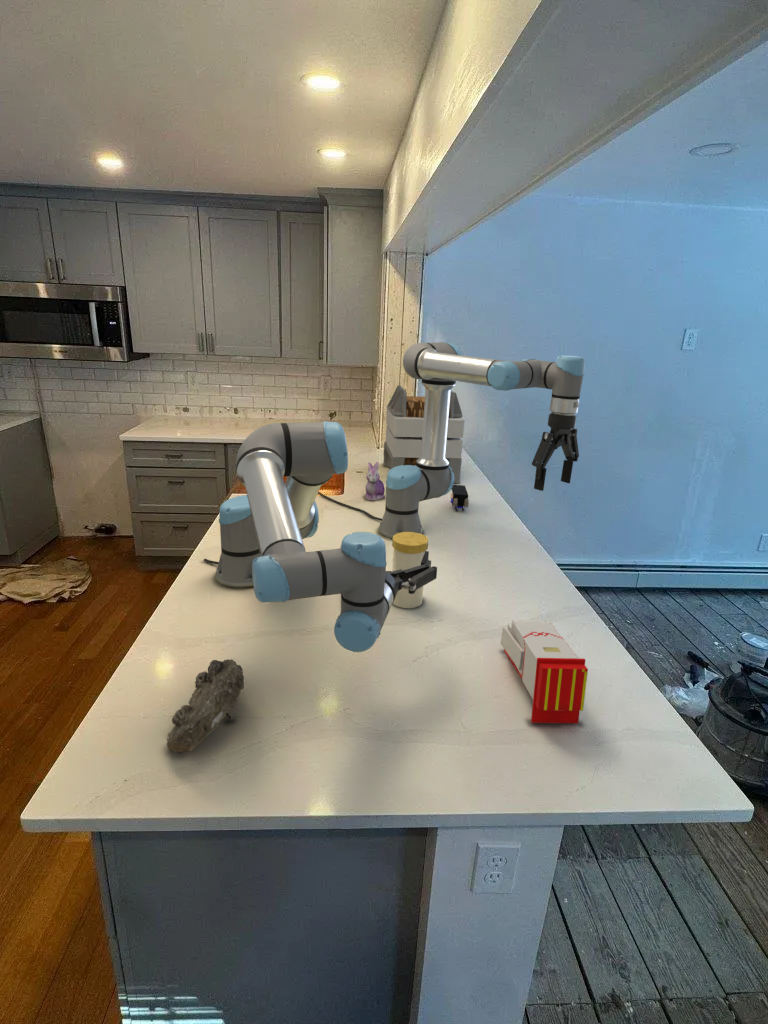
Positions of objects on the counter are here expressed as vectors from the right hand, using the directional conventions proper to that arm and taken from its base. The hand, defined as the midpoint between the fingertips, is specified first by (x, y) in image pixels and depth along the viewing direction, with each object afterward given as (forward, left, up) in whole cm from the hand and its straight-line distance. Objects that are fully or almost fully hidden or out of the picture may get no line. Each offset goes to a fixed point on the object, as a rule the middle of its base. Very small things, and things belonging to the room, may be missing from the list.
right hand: (552, 485), depth 166 cm
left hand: (+1, -61, -5) cm, 62 cm away
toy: (+32, -47, -28) cm, 64 cm away
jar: (-11, -45, -28) cm, 55 cm away
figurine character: (-56, +25, -28) cm, 67 cm away
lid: (-11, -45, -10) cm, 48 cm away
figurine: (-84, +4, -28) cm, 89 cm away
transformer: (-101, +46, -28) cm, 115 cm away
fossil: (0, -107, -28) cm, 110 cm away
